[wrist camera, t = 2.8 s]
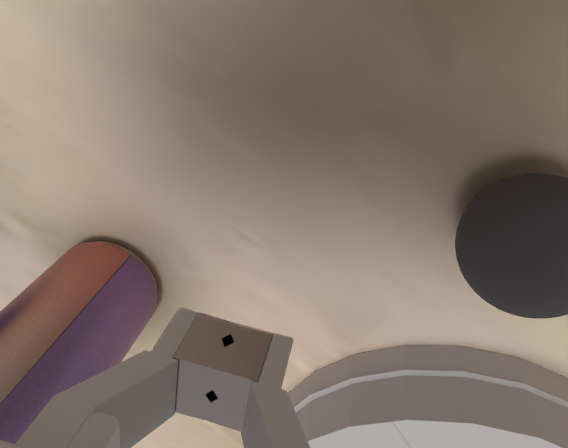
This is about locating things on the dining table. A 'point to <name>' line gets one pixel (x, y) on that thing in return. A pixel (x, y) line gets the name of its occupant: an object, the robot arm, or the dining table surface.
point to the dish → (433, 401)
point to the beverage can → (70, 328)
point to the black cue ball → (518, 245)
